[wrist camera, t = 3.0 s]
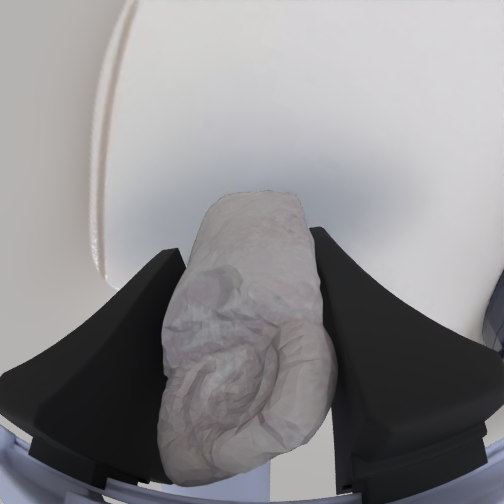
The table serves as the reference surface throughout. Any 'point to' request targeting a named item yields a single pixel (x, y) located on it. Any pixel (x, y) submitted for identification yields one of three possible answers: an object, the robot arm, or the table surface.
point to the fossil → (244, 343)
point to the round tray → (495, 320)
